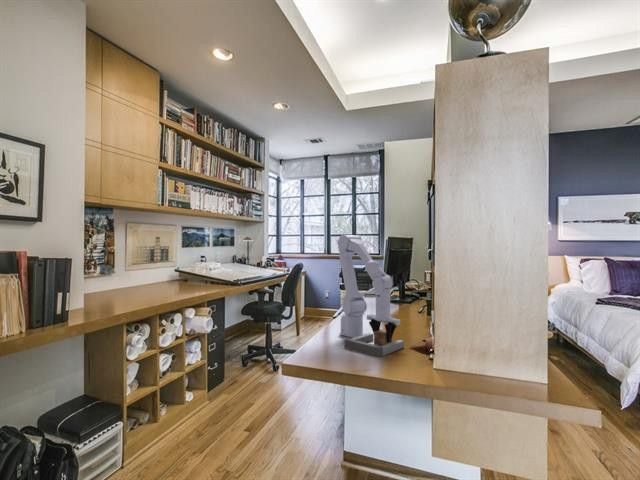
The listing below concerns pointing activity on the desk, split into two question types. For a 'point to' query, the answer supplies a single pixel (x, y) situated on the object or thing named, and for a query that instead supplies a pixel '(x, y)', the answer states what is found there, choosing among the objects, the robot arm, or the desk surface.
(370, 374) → the desk surface
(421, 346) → the sunglasses case
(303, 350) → the desk surface
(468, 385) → the desk surface
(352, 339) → the bay
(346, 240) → the robot arm
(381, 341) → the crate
